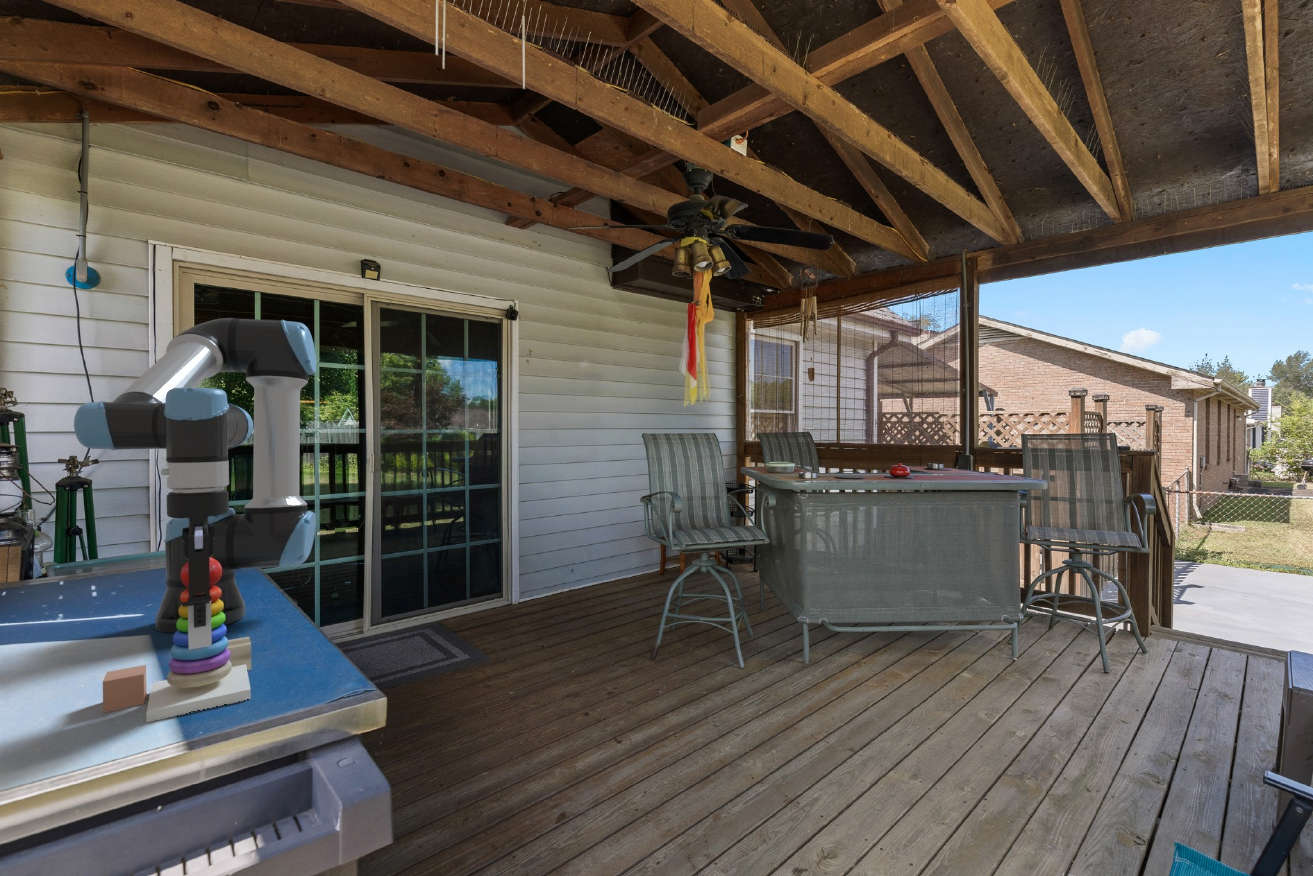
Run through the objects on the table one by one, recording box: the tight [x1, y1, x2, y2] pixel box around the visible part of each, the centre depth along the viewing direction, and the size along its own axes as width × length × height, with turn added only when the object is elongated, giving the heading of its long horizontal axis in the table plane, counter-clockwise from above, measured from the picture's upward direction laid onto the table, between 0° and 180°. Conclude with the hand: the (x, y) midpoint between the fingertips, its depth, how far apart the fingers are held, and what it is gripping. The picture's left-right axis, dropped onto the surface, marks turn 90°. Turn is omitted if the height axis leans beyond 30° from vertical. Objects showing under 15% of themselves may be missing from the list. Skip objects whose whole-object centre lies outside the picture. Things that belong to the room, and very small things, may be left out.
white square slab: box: [146, 664, 252, 723], centre depth 92 cm, size 12×12×2 cm
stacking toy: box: [166, 557, 232, 688], centre depth 92 cm, size 8×8×19 cm
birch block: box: [227, 636, 252, 671], centre depth 102 cm, size 4×4×4 cm
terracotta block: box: [102, 664, 147, 713], centre depth 90 cm, size 4×4×4 cm
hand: (200, 639), depth 92 cm, fingers closed on stacking toy, 7 cm apart
